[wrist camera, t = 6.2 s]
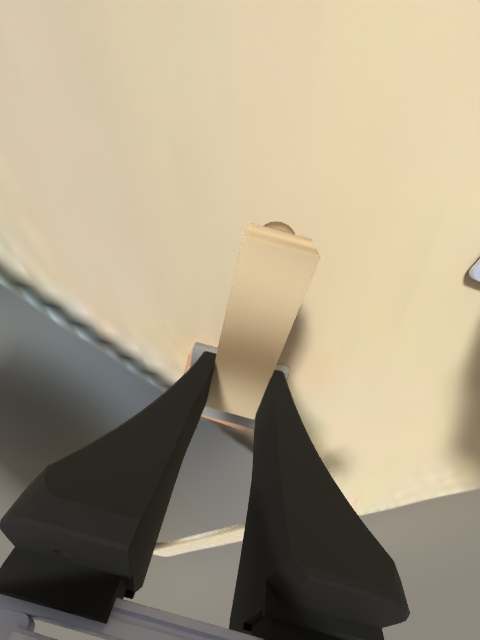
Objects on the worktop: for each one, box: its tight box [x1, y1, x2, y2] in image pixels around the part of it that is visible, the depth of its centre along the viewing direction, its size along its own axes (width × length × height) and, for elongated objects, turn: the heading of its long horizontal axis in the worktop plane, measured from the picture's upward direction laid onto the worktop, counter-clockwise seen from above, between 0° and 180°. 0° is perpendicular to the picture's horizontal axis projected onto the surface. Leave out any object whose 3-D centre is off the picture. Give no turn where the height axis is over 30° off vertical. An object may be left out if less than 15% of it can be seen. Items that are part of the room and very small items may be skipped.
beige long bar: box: [190, 222, 320, 429], centre depth 13 cm, size 14×6×4 cm, turn 167°
